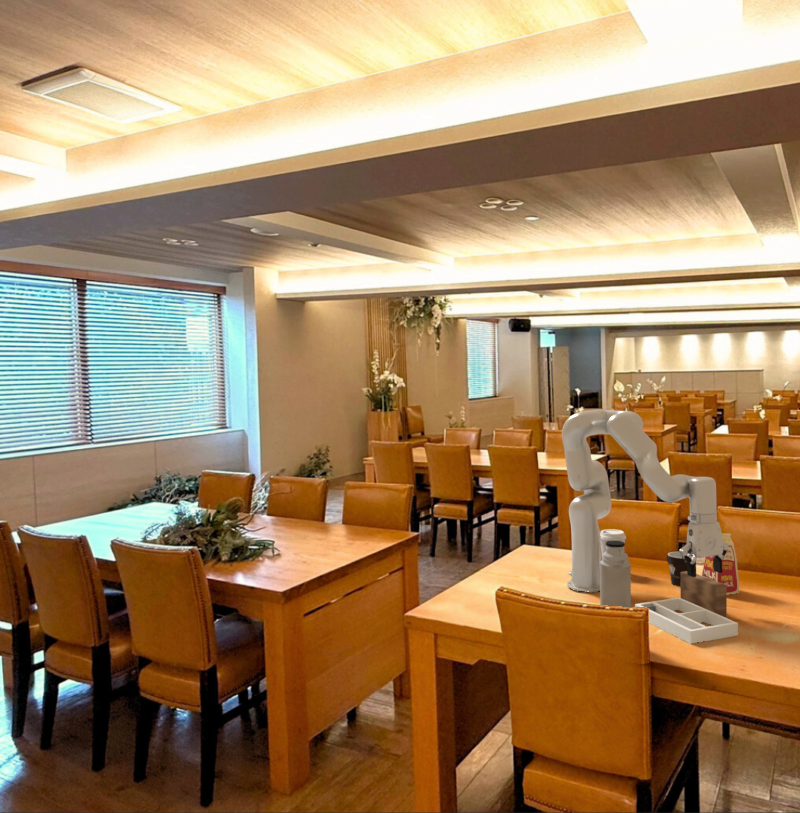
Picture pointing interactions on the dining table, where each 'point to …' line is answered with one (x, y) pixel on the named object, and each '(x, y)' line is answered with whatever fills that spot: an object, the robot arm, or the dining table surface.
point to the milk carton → (724, 568)
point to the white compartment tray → (689, 620)
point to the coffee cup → (611, 537)
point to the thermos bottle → (615, 576)
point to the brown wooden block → (704, 593)
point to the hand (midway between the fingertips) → (704, 574)
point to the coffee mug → (676, 567)
